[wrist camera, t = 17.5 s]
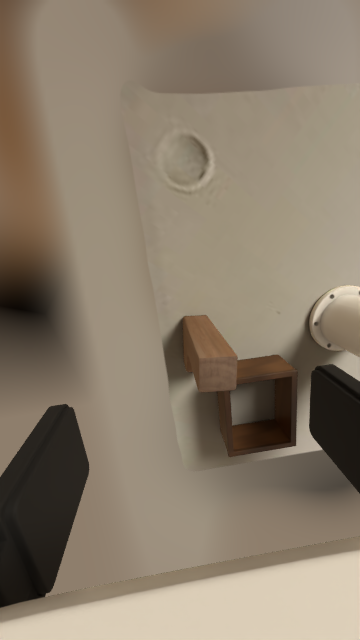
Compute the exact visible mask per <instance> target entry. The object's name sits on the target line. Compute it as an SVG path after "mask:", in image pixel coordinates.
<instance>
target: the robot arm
mask: <svg viewBox="0 0 360 640" xmlns="http://www.w3.org/2000/svg"><path fill="white" fill-rule="evenodd" d="M309 327H310V332H311V335H312V337H313V339H314V340H315V341H316V342H317V343H318V344H319V345H321V346H322V347H324V348H326V349H328V350H332V351H342V350H347V351H349V352H351V353H353V354H355V355H356V356H358V357H360V287H356V286H349V285H346V286H339V287H336V288H334V289H332V290H330V291H328V292H327V293H325V294H324V295H323V296H322V297H321V298H320V299H319V300H318V301H317V303H316V304H315V306H314V308H313V310H312V312H311V315H310V320H309ZM309 429H310V432H311V435H312V436H313V438H314V439H315V440H316V441H317V443H318V444H319V445H320V446H321V447H322V449H323V450H324V451H325V452H326V453H327V455H328V456H329V457H330V458H331V459H332V460H333V462H334V463H335V464H336V465H337V467H338V468H339V469H340V470H341V471H342V473H343V474H344V475H345V476H346V478H347V479H348V480H349V481H350V482H351V484H352V485H353V486H354V487H355V488H356V489H357V491H358V492H359V493H360V381H358V380H356V379H355V378H353V377H352V376H350V375H349V374H347V373H346V372H344V371H343V370H341V369H340V368H338V367H336V366H335V365H333V364H329V365H322V366H317V367H316V368H315V370H314V371H312V373H311V394H310V420H309ZM88 474H89V462H88V459H87V455H86V451H85V448H84V444H83V441H82V437H81V434H80V430H79V426H78V423H77V419H76V416H75V412H74V409H73V408H72V407H69V406H68V405H67V404H63V405H56V406H51V407H49V408H48V409H47V411H46V412H45V414H44V415H43V417H42V418H41V419H40V421H39V422H38V424H37V425H36V427H35V428H34V429H33V431H32V432H31V434H30V435H29V437H28V438H27V439H26V441H25V443H24V444H23V445H22V447H21V448H20V450H19V451H18V452H17V454H16V455H15V457H14V458H13V460H12V461H11V462H10V464H9V465H8V467H7V468H6V470H5V471H4V473H3V474H2V475H1V477H0V640H360V536H358V537H353V538H347V539H341V540H336V541H330V542H325V543H319V544H314V545H308V546H303V547H298V548H292V549H287V550H282V551H276V552H271V553H266V554H260V555H255V556H250V557H244V558H239V559H234V560H229V561H223V562H218V563H213V564H208V565H202V566H197V567H192V568H186V569H181V570H176V571H171V572H166V573H161V574H156V575H151V576H145V577H140V578H136V579H131V580H125V581H120V582H115V583H110V584H105V585H100V586H94V587H89V588H85V589H80V590H75V591H71V592H66V593H62V594H57V595H52V596H48V597H45V595H46V593H49V592H50V591H51V590H52V588H53V586H54V583H55V580H56V577H57V573H58V570H59V567H60V564H61V561H62V557H63V554H64V551H65V548H66V544H67V541H68V538H69V535H70V532H71V528H72V525H73V522H74V519H75V516H76V512H77V509H78V506H79V503H80V500H81V496H82V493H83V490H84V487H85V483H86V480H87V477H88Z"/></svg>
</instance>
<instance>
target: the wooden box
mask: <svg viewBox="0 0 360 640" xmlns="http://www.w3.org/2000/svg"><path fill="white" fill-rule="evenodd" d="M297 374H298V370H297V369H294V368H293V367H292V366H291V365H290V364H288V363H287V362H286V361H285V360H284V359H283V358H282V357H280V356H279V355H272V356H265V357H258V358H251V359H244V360H238V361H237V379H236V385H237V384H244V383H250V382H257V381H264V380H270V379H275V419H271V420H265V421H258V422H252V423H246V424H240V425H233V426H232V417H231V402H230V390H228V391H217V396H218V408H219V419H220V431H221V434H222V437H223V439H224V442H225V445H226V448H227V451H228V456H229V457H232V456H238V455H244V454H250V453H256V452H262V451H268V450H274V449H280V448H286V447H292V446H296V422H297V376H298V375H297Z"/></svg>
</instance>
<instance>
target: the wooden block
mask: <svg viewBox="0 0 360 640" xmlns="http://www.w3.org/2000/svg"><path fill="white" fill-rule="evenodd" d="M183 353H184V364H185V368H186V371H187V372H193V374H194V377H195V380H196V384H197V387H198V390H199V392H214V391H228V390H235V389H236V379H237V355H236V354H235V352H234V351H233V350H232V348H231V347H230V346H229V344H228V343H227V342H226V340H225V339H224V338H223V336H222V335H221V334H220V333H219V331H218V330H217V329H216V327H215V326H214V325H213V323H212V322H211V321H210V319H209V318H208V317H207V316H206V315H201V316H184V317H183Z"/></svg>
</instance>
